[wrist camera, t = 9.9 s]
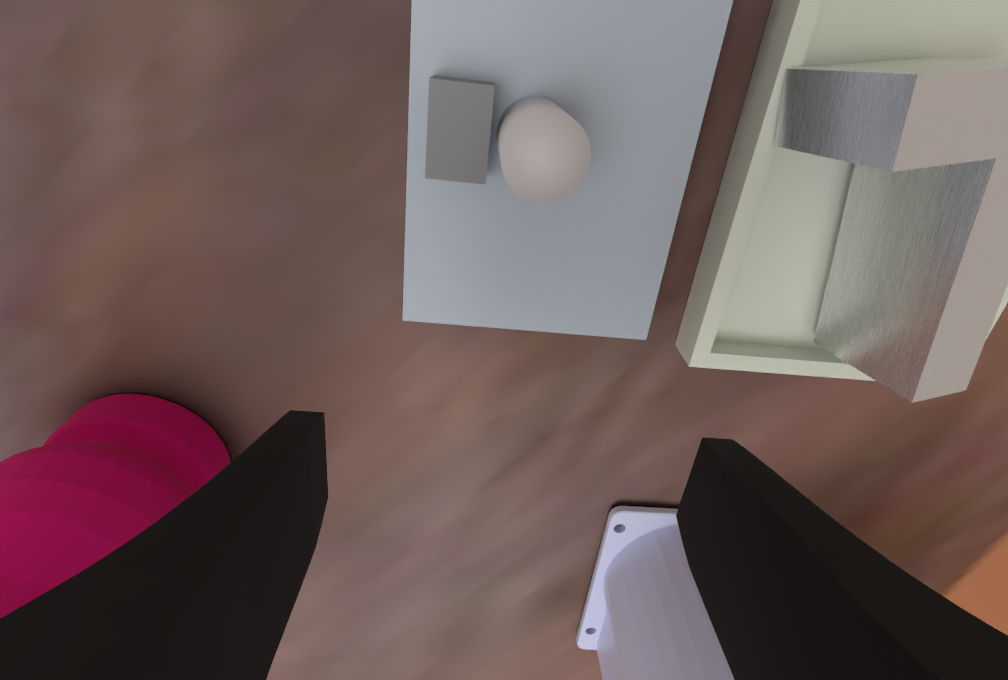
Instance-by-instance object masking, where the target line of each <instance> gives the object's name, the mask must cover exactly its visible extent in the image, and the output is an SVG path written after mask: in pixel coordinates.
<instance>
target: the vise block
mask: <svg viewBox="0 0 1008 680" xmlns="http://www.w3.org/2000/svg"><path fill="white" fill-rule="evenodd" d="M732 4H733V0H412V11H411V46H410V81H409V116H408V151H407V185H406V220H405V255H404V290H403V321H416V322H428V323H441V324H453V325H466V326H478V327H490V328H503V329H515V330H528V331H540V332H552V333H565V334H577V335H590V336H602V337H614V338H627V339H639V340H646V339H647V335H648V331H649V327H650V323H651V319H652V315H653V311H654V308H655V304H656V300H657V296H658V292H659V288H660V284H661V280H662V276H663V272H664V269H665V265H666V261H667V257H668V253H669V249H670V245H671V241H672V237H673V233H674V230H675V226H676V222H677V218H678V214H679V210H680V206H681V202H682V198H683V195H684V191H685V187H686V183H687V179H688V175H689V171H690V167H691V163H692V159H693V156H694V152H695V148H696V144H697V140H698V136H699V132H700V128H701V124H702V120H703V117H704V113H705V109H706V105H707V101H708V97H709V93H710V89H711V85H712V82H713V78H714V74H715V70H716V66H717V62H718V58H719V54H720V50H721V46H722V43H723V39H724V35H725V31H726V27H727V23H728V19H729V15H730V11H731V7H732Z"/></svg>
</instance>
